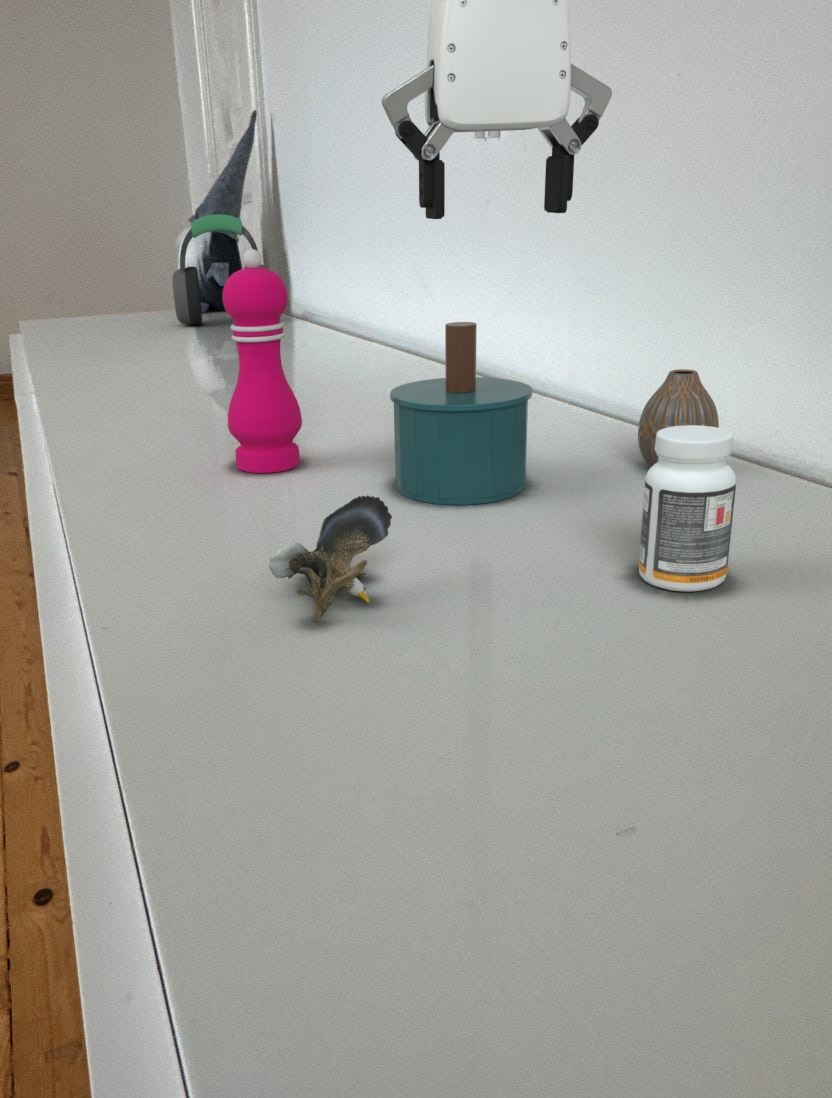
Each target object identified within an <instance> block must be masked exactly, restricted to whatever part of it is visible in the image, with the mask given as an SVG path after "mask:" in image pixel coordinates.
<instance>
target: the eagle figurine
mask: <svg viewBox="0 0 832 1098" xmlns="http://www.w3.org/2000/svg"><path fill="white" fill-rule="evenodd" d="M385 504H386V503H385V501H383V500H381V498H380V496H376V497H375V496H370V495H362V496H356V497H355V498H352V499H351V500H350V501H348V502H347V503H345V504H344V505H343V506H339V508H337V509H336V510H334V512H332V513H330V514H329V515H328V516H326V517H325V518H324V519H323V521H322V523H321V527H320V531H319V536H318V539H317V541H316V547H315V549H314V550H311V551H309V550H308V549H307V548H306V547H305V546H304V545H303V544H302V543H300V542H293V543H292V544H288V545H286V546H284V547H283V548H281V549H279V550H278V551H276V552H275V553H274V554H273V555H272V556H271V557H269V560H268V561H269V563H268V569H269V570H270V572H271V574H272V576H274V578H277V579H285V578H288V580H290V579H291V578H293V577H294V576H295V575H297V574H300V575H305V577H306V578H307V579H308V582H309V584H310V587H311V588H304V587H303V588H299V589H297V590H296V594H297V595H299V596H308V597H311V598H312V599H313V605H314V610H313V622H314V623H318V622H319V621H320V619H321V618H322V617H323V616H324V615H325V612H327V611H328V610H329V608H330V607H329V606H331V605H332V601H333V599H334V596H335V595H336V593H337V591H338V590H339V591H345V592H348V593H350V594H351V595H353V596H355V597H357V598H360V599H362V600H364V601H365V603H367V604H369V603H370V599H369V597H368V595H367V587H366V586H365V585H364V584H363V583H362V582H361V581H360V580H359V579H358V577H359V576H365V575H366V572H363V571H364V569H365V568H366V567H367V564H368V560H367V559H362V560H361V561H360V562H358V563H357V564H356V565H355V567H352V568H351V563H352V561H353V558H354V557H355V556H357V555H359V554H361V553H364V552H366V551H368V550H369V549H370V547H372V546H373V545H377V544H378V543H381V542H382V541H383V540H385V539H386V538H387V537H388V536H389V528H390V527H391V525H392V524H391V523H392V522H391V520H392V518H393V516H392V514H391V513H390V512H389V507H388V506H387V505H385Z"/></svg>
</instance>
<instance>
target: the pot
mask: <svg viewBox="0 0 832 1098" xmlns="http://www.w3.org/2000/svg"><path fill="white" fill-rule="evenodd" d="M528 415H529V400H527V401H525V402H523V403H520V404H516V405H513V406H508V407H503V408H496V409H488V410H476V411H431V410H421V409H414V408H408V407H404V406H400V405H398V404H395V403H394V402H393V427H394V428H393V429H394V463H395V464H394V466H395V467H394V469H395V470H394V471H395V483H396V489H397V492H398V493H399V494H401V495H402V496H404V497H406V498H408V499H411V500H413V501H418V502H423V503H428V504H433V505H434V504H435V505H445V506H446V505H448V506H449V505H450V506H467V505H468V506H469V505H470V506H471V505H481V504H488V503H494V502H495V503H496V502H499V501H503V500H507V499H510V498H513V497H515V496H517V495H519V494H521V493H522V492H523V491H524V489H525V486H526V477H527V476H526V475H527V473H526V472H527V450H528V449H527V448H528V447H527V444H528Z"/></svg>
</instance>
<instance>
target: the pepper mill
mask: <svg viewBox="0 0 832 1098" xmlns="http://www.w3.org/2000/svg"><path fill="white" fill-rule="evenodd" d="M241 259H242V264H243V266H245V267H246V268H241V269H239V270H237V271H234V272H233V273H232V274H230V276H229V277H228V278H227V279H226V281H225V283H224V285H223V288H222V303H223V307H224V310H225V312H226V313H227V314H228V315H229V316H230V318H231V319H232V321H233V323H232V324H231V325H230V327H229V328H230V330H231V334H232V335H231V340H232V341H234V342H236V349H237V354H238V375H237V381H236V384H235V387H234V390H233V393H232V395H231V399H230V402H229V404H228V411H227V428H228V431H229V433H230V434H231V436H232V437H233V438H234V439H235V440H236V441H237V442H238V444H239V446H237V448H235V451H234V452H235V453H234V454H235V464H236V468H237V469H238V470H239V471H242V472H244V473H252V474H270V473H271V474H272V473H281V472H285V471H289V470H292V469H294V468H296V467H298V466H299V464H300V446H299V445H298V444H297V443H296V442H294V439H295V438H296V437H297V435H298V434H299V432H300V430H301V428H302V426H303V418H302V411H301V407H300V404H299V402H298V400H297V397H296V395H295V393H294V391H293V390H292V387H291V386H290V384H289V382H288V380H287V378H286V375H285V372H284V369H283V363H282V356H281V341H282V339H283V338H285V336H286V334H285V332H284V327H285V322H283V321H281V320H280V319H281V317H282V315H283V313H284V311H285V310H286V308H287V305H288V301H289V300H288V298H289V297H288V296H289V295H288V291H287V287H286V284H285V282H284V281H283V279H282V277H281V276H280V275H279V274H277V273H276V272H275V271H273V270H271V269H269V268H268V269H266V268H260V265H261V264H262V262H263V258H262V255H261V253H260V252H259V250H258V251H257V250H254V249H252V248H250V249H247V250H245V252H244V253H243V254H242V258H241Z"/></svg>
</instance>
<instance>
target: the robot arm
mask: <svg viewBox="0 0 832 1098" xmlns="http://www.w3.org/2000/svg"><path fill="white" fill-rule="evenodd" d="M569 11H570V10H569V3H568V0H431V4H430V12H429V21H428V22H429V24H428V32H427V45H426V61H425V69H423V70H422V71H420V72H418V73H417V74H415V75H413V76H412V77H410V78H409V79H408V80H406V81H404V82H403V83H401V84H399V85H398V86H396V87H395V88H394V89H392V90H390V91H389V92H387V93H386V94H384V95H383V96H382V98H381V105H382V108H383V110H384V112H385V114H386V116H387V118H388V121H389V122H390V125H391V126H392V127H393V130H394V134H395V136H396V138H397V139H398V140H399V141H400V142H401V143H402V144H403V145H404V146H405V148H406V149H407V150H408V151H409V152H410V153H411V154H412V156H413V157H414V159H415V160H416V161H418V200H419V201H418V204H419V208H420V209H425V218H426V219H429V220H441V219H443V218H444V217H445V213H446V212H445V211H446V210H445V206H446V205H445V204H446V203H445V199H446V198H445V195H446V193H445V192H446V191H445V187H446V184H445V182H446V181H445V179H446V178H445V177H446V176H445V173H446V170H445V168H446V167H445V162H444V161H443V159H441V157H440V155H441V154H440V152H441V150H443V148H444V146H445V145H446V143H447V142H448V141H449V140H450V138H451V137H452V135H453V134H454V133H475V132H476V133H478V132H479V133H482V132H510V131H526V130H534V129H537V130H538V131H539V133H540V134H541V136H542V137H543V139H544V140H545V141H546V143H547V144H548V145H549V147H550V148H551V155H548V156H547V157H546V160H545V178H544V199H543V200H544V201H543V209H544V211H545V212H546V213H551V214H566V212H567V210H568V202H570V201H571V200H572V198H573V193H574V191H573V190H574V173H575V172H574V171H575V170H574V169H575V155H577V154H579V153H580V151H581V149H582V146H583V145H584V144H585V143H586V141H587V140H588V139H590V137H591V136H592V135H593V134H594V133H595V132H596V130H597V129H598V128H599V124H600V120H601V118H602V117H603V116H604V113H605V111H606V109H607V108H608V105H609V102H610V100H611V99H612V97H613V90H612V88H611V87H610V86H608V84H607V85H606V84H605V83H603V82H602V81H600V80H599V79H597V78H595V77H594V76H593V75H591V74H589V73H587V72H585V70H583V69H581V68H580V67H578V66H576V65H574V64H573V63H572V50H571V49H572V47H571V25H570V13H569ZM571 91H572V92H573V93H575V94H577V95H578V96H580V97H581V98H583V99H584V100H583V101H584V106H583V108H582V111H581V114H580V116H578V118H576V120H575V121H574V122H573V123H572V124H571V125H570V123H569V121H568V120H567V119H566V118H567V116H568V113H569V109H570V102H571ZM422 94H424V116H425V122H426V124H427V126H428V128H427V129H426V131H425V132H422V130H421V129H420V128H419V127H418V126H417V125H416V124H415V123H414V122H413V121H412V118H411V117H410V114H409V113H410V112H409V111H408V106H409V103H410V102H411V101H413V100H414V99H416V98H417V97H419V96H421V95H422Z"/></svg>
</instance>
